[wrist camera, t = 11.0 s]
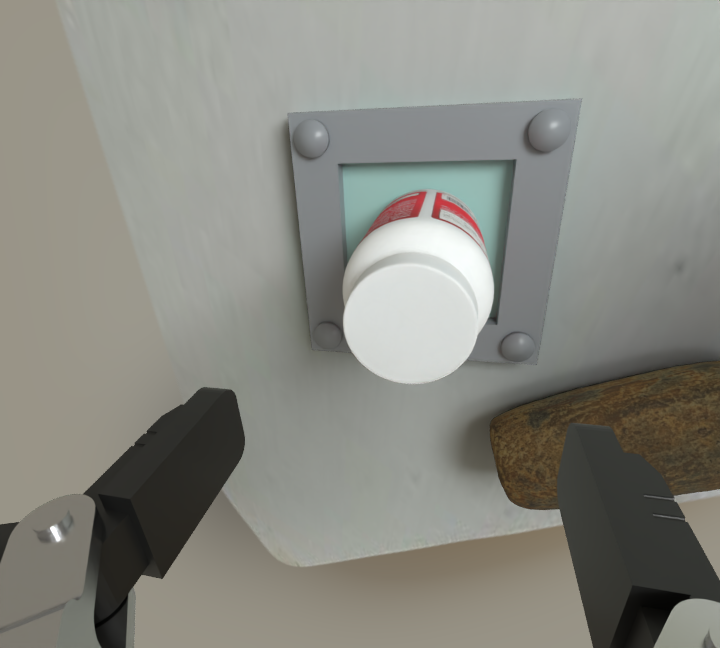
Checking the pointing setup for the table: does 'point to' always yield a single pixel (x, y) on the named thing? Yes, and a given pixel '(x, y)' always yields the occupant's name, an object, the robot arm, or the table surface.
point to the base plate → (445, 173)
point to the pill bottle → (418, 288)
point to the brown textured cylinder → (617, 431)
